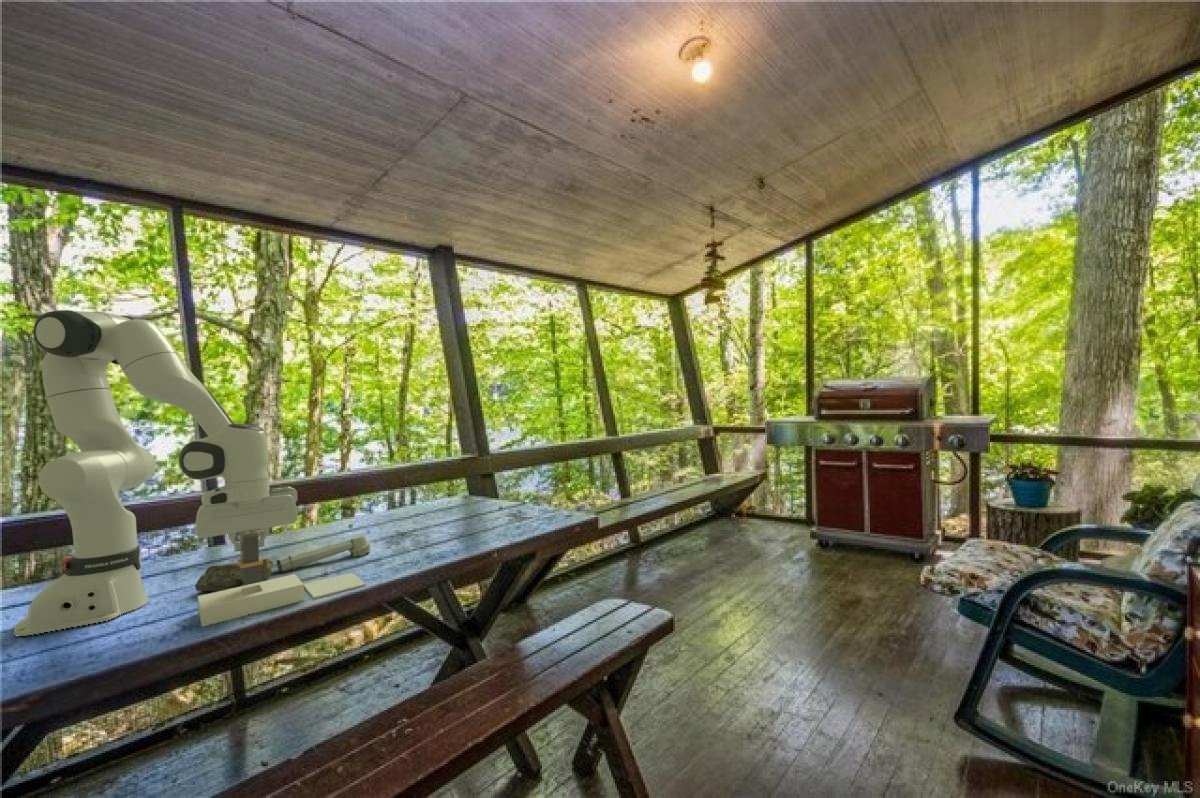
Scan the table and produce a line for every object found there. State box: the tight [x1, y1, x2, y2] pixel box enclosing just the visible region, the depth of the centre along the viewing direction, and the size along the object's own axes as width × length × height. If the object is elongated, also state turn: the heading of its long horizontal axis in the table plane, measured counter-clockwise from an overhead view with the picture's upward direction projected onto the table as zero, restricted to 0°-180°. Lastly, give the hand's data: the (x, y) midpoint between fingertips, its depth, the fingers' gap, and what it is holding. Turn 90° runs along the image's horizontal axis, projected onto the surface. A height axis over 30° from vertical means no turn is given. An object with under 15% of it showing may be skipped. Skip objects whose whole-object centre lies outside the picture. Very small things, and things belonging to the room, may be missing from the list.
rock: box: [194, 558, 274, 592], centre depth 139 cm, size 17×7×10 cm
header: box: [197, 573, 305, 628], centre depth 124 cm, size 20×10×4 cm, turn 131°
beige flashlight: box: [276, 534, 371, 573], centre depth 157 cm, size 5×7×25 cm
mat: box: [303, 572, 367, 600], centre depth 136 cm, size 12×12×1 cm
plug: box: [236, 531, 263, 586], centre depth 124 cm, size 4×6×11 cm
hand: (249, 548), depth 124 cm, fingers closed on plug, 3 cm apart
